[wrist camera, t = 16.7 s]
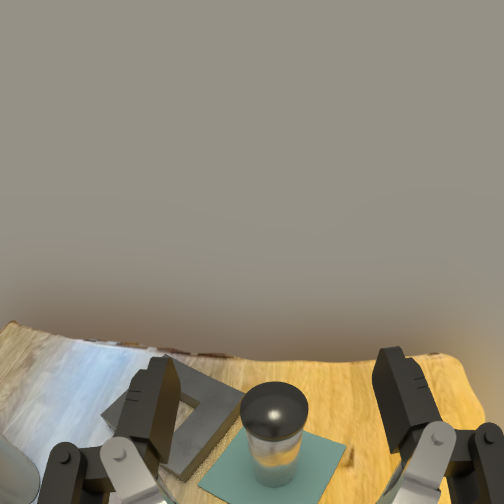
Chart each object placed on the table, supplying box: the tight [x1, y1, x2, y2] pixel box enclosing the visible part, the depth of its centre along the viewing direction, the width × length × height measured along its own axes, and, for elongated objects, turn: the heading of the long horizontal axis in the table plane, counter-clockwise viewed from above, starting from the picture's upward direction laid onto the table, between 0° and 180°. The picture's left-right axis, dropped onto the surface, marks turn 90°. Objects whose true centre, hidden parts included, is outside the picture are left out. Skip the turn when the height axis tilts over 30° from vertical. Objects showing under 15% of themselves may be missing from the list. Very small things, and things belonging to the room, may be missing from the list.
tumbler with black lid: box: [240, 382, 308, 488], centre depth 27 cm, size 5×5×15 cm
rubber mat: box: [197, 426, 346, 504], centre depth 31 cm, size 13×13×1 cm
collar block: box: [101, 354, 245, 483], centre depth 37 cm, size 14×14×3 cm
